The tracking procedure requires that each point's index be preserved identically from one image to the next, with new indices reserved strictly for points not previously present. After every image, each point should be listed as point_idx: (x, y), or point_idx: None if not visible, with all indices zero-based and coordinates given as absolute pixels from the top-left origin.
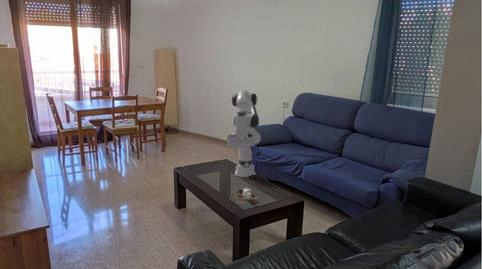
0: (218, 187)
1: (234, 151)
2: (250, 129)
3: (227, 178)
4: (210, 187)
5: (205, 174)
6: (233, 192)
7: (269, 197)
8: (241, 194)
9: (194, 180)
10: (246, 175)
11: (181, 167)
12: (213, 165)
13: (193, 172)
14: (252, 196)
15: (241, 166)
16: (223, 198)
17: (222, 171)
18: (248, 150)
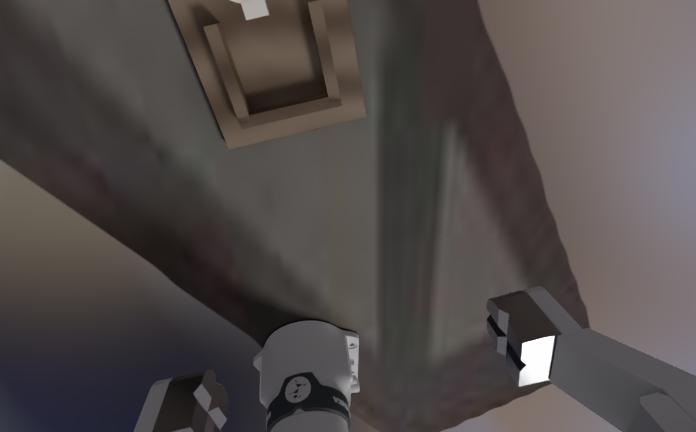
0: (448, 187)
1: (550, 312)
2: None
3: (394, 299)
4: (492, 183)
5: None
6: (361, 96)
7: (80, 40)
8: (302, 61)
9: (557, 259)
10: (297, 330)
11: None
12: (450, 403)
13: None
14: (212, 22)
15: (329, 377)
16: (429, 6)
17: (415, 362)
18: (138, 423)
